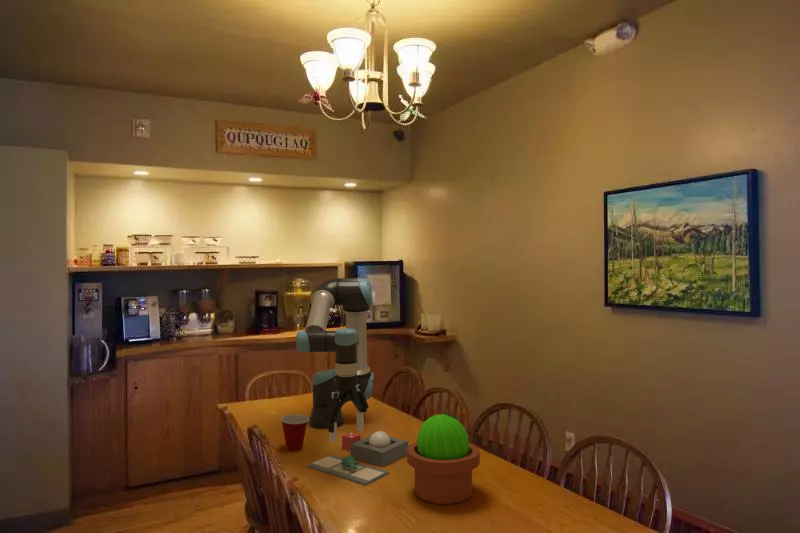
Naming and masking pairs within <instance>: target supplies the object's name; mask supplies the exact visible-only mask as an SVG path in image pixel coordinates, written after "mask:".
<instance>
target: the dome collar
mask: <svg viewBox="0 0 800 533" xmlns="http://www.w3.org/2000/svg"><path fill="white" fill-rule="evenodd" d="M388 436H389V435H388ZM370 437H371V435H369V436H366V437H365V438H361V440H359V441H357V442H355V443H352V444H351V451H350V456H351V457H353V458H354V460H358V461H360V462H364V463H368V464H371V465H375V466H379V467H385V466H388V465H389V464H392V463H393V462H396V461H398V460H400V459H402V458H405V457H407V447H408V446H409V440H406V439H401V438H396V437H393V436H389V438H390V441H391V444H390V445H388V446H386V447H384V448H382V449H381V448H377V447H374V446H370V445H369V439H370Z"/></svg>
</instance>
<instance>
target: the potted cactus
mask: <svg viewBox="0 0 800 533" xmlns="http://www.w3.org/2000/svg"><path fill="white" fill-rule="evenodd" d="M440 413H441V414H439V413H437V414H436V415H435V414H434V415H431V416H429V417H428V418H427V420H426V419H425V421H422V425H421V426H420V428H419V430H418V433H417V435H415V437H417V438H416V441H415V442H412V443H410V444H408V447H407V455H406V463H407V464H408V465H409V466H410V467H411V468H412V469H414V492H415V494H416V496H418V498H420V499H422V500H423V501H425V502H428V503H431V504H436V505H451V504H452V505H453V504H457V503H461V502H464V501H466V500H468V499H469V498H471V496H472V495H473V494H472V493H473V470H475V469H476V468H478V467H479V466H480V463H481V462H480V461H481V453H480V451H481V450H480V449H479V447H477V446H476V445H475V444H474V443H472V442H470V440H469V439H470V435H469V434H468V432H467V429H466V428H465V427H464V424H462V423H461V422H460V420H459V418H457V417H455V416H453V415H452V414H450V413H447V412H445V411H444V412H443V411H441V412H440Z"/></svg>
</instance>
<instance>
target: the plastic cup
mask: <svg viewBox="0 0 800 533" xmlns="http://www.w3.org/2000/svg"><path fill="white" fill-rule="evenodd" d="M309 418H310V417H308V416H306V415H303V414H295V413H294V414H286V415H283V416H281V417H280V421H281V425H282V426H281V427H282V430H283V435H284V441H285V445H286V450H287V451H288V452H298V451H301V450H302V449H303V446H304V440H305V435H306V431H307V430H306V429H307V427H308V426H307V425H308V423H309Z"/></svg>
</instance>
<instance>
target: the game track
mask: <svg viewBox="0 0 800 533" xmlns="http://www.w3.org/2000/svg"><path fill="white" fill-rule="evenodd" d="M343 459H344V457H340V456H335V455H331V454H330V455H327V456H326V457H323V458H321V459H318V460H315V461H313V462H310V463H309V464H306V467H307V468H310V469H312V470H317V471H319V472H322V473H326V474H329V475H332V476H336V477H338V478H342V479H344V480H348V481H352V482H354V483H357V484H360V485H364V486H367V485H369V484H371V483H373V482H376V481H377V480H379V479H381V478H384V477H386V476H387V475H389V474H390V472H389V471H388V470H384V469H380V468H377V467H374V466H370V465H367V464H365V463H364V464H363V463H360V462H357V463H358V465H357V468H358V469H357V470H352V471H351V470H347V469H344V468H342V460H343Z"/></svg>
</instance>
